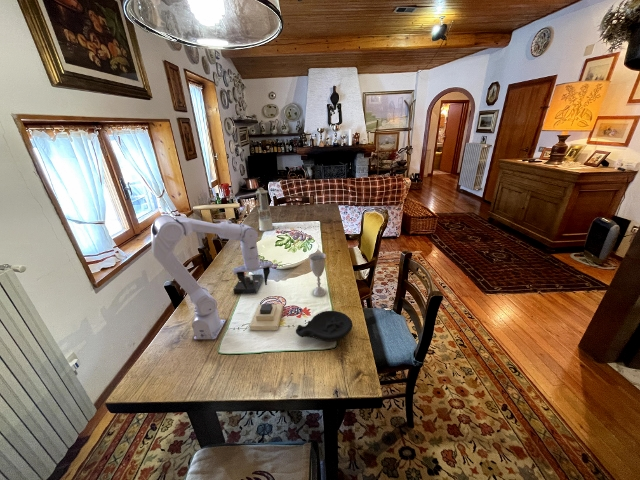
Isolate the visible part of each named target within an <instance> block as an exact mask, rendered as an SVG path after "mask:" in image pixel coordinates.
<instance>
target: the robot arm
mask: <svg viewBox="0 0 640 480" xmlns="http://www.w3.org/2000/svg"><path fill="white" fill-rule="evenodd" d="M193 232H195V233H205V234H214V235H217V236H218V237H219V238H220V239H224V240H233V241H239V243H240V249H241V254H242V259H243V265H239V266H237V267H233V268H232V272H233V276H234V275H236V278H237V279H238V281H239V280H240V281H241V282H242V283H243V285H244V287H245V289H247V283H246V279H245V274H244V273H252V272H256V271H259V270H262V271H263V280H264V281H263V282H264V286H268V278H269V275H270V274H271V273H270V272H271V269H273V264H272V261H261V260H260V256H259V249H258V244H257V240H258V237H259V233H258V232H257V230H256V229H255V228H254V227H252V226H250V225H248V224H245V223H240V224H239V223H233V221H231V220H228V219H227V220H226V221H221V222H219V223H214V222H209V221H204V220H200V219H196V218H191V217H185V216H179V215H173V216H171V215H168V214H162V215H158V216H157V217H156V218H155V219H154V220H153V222H152V224H151V227H150V233H151V234H150V235H151V253H152V254H153V256H154V258H155V259H156V260H157V261H158V263H160V264H161V266H162V267H163V268H164V269H165V270H166V272H168V274H169V276H171V277H172V279H174V281H175V282H176V283H177V284H178V285H179V286H180V288H182V290H183V291H184V292H185V293H186V294H187V295H188V297H189V299H190V301H191V303H192V304H193V305H194V310H193V311H194V319H193V321H192V323H191V328H192V331H193V333H194V337H193V339H194V340H216V339H217V337H218V336H219V333H220V332H221V331H222V328H223V327H224V325H225V323H226V319H221V318H220V314H219V310H218V302H217V300H216V299H215V298H214V297H213V296H212V295H211V293H210V292H209V290H208V289H207V288H206V287H203V286H201V284H199V283H198V281H197V280H196V279H195V278H194V276H193V275H192V274H191V273H190V272H189V270H188V269H187V268H186V267H185V265H184V264H183V263H182V262H181V260H180V259H179V257H178V256H176V255H175V252H174V250H175V248H176V246H177V245H178V244H179V242H180V241H181V240H182V239H183V237H184V236H185V237H188V236H190V235H192V234H193Z"/></svg>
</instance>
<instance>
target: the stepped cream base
mask: <svg viewBox="0 0 640 480" xmlns="http://www.w3.org/2000/svg"><path fill="white" fill-rule="evenodd" d="M271 304H272V303H271ZM261 306H262V304H258V305H257V306H256V309H255V311H254V315H253V317H252V319H251V320H250V321H251V322H250V324H249V330H250V331H278V330H279V326H280V323H281V318H282V315H283V311H284V304H282V303H281V304H280V303H279V304H274V303H273V304H272V310H271V313H270V314H261V313H260V309H261Z"/></svg>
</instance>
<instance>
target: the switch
mask: <svg viewBox="0 0 640 480" xmlns="http://www.w3.org/2000/svg"><path fill="white" fill-rule="evenodd" d="M261 305H262V306H261V309H260V313H261V314H270V313H271V310H272V303H262V304H261Z"/></svg>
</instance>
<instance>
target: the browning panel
mask: <svg viewBox="0 0 640 480" xmlns="http://www.w3.org/2000/svg"><path fill="white" fill-rule="evenodd" d="M251 275H252V278H253V283H248V282H246V283H247V289H245V287H244V285H243V283H242V282H241V281H240V280H239V279H238V281H237V283H236V284H235V286H234V287H233V294H234V295H248V294H249V295H251V294H253V295H255V294H257V293H258V291H259V289H260V287H261V284H262V282H263V280H264V274H261V273H260V274H251Z"/></svg>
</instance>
